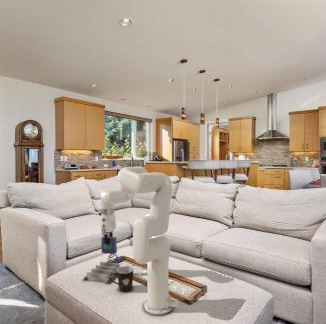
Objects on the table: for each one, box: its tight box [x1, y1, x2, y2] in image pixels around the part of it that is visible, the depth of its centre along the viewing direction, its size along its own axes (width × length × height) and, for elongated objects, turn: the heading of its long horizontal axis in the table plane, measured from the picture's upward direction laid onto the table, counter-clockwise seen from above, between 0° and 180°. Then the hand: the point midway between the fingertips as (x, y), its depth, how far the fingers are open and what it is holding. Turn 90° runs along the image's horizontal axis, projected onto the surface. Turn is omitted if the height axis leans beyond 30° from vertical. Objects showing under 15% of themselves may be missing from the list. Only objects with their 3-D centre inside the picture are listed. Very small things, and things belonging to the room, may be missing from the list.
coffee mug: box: [108, 265, 135, 293], centre depth 131 cm, size 12×9×10 cm
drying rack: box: [83, 261, 121, 285], centre depth 146 cm, size 15×17×4 cm
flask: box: [100, 234, 118, 255], centre depth 146 cm, size 9×3×11 cm, turn 77°
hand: (108, 242), depth 146 cm, fingers closed on flask, 3 cm apart
